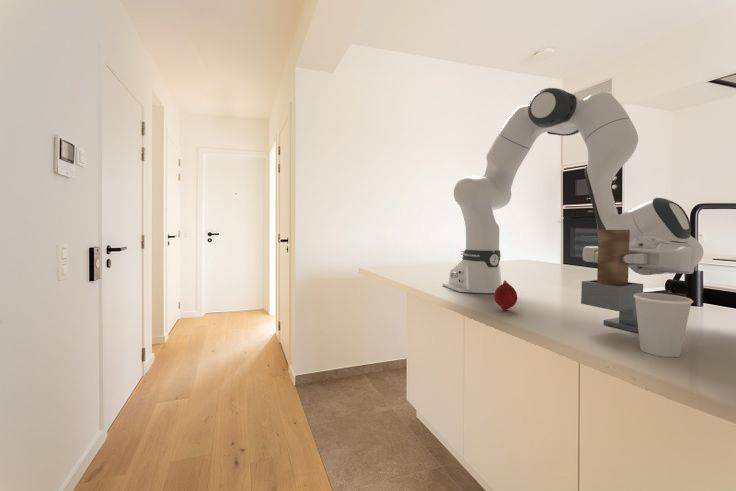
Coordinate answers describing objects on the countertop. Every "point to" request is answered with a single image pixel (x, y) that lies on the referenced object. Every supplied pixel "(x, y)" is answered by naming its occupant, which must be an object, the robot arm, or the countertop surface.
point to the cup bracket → (613, 301)
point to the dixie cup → (662, 322)
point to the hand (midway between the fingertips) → (610, 257)
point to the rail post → (612, 257)
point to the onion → (505, 296)
